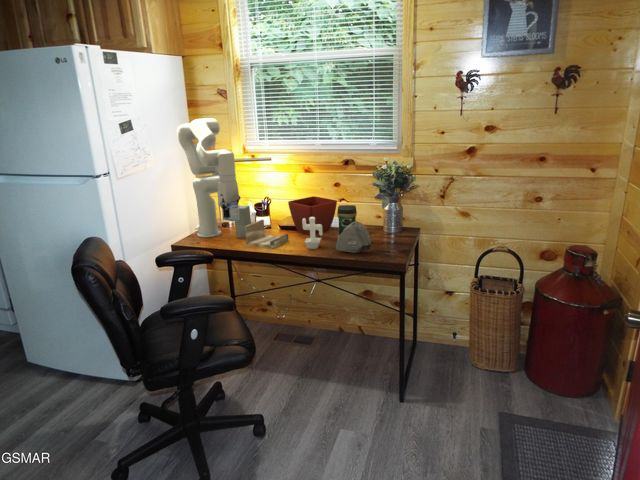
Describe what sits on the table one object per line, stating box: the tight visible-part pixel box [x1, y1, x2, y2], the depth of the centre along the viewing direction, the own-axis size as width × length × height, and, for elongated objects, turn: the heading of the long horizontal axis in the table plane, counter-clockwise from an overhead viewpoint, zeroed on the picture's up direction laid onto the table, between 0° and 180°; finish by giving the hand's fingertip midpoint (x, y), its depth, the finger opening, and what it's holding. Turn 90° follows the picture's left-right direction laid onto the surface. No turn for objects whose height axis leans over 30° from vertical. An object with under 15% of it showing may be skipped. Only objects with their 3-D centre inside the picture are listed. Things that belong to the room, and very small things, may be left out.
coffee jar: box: [336, 204, 358, 238], centre depth 230 cm, size 10×8×19 cm
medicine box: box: [221, 202, 240, 223], centre depth 223 cm, size 8×4×9 cm, turn 47°
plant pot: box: [287, 195, 338, 236], centre depth 249 cm, size 19×19×17 cm
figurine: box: [302, 217, 324, 250], centre depth 223 cm, size 7×9×15 cm
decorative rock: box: [335, 220, 372, 254], centre depth 214 cm, size 16×7×15 cm, turn 74°
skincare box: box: [234, 205, 252, 239], centre depth 246 cm, size 8×7×16 cm
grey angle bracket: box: [245, 219, 289, 249], centre depth 234 cm, size 16×14×10 cm
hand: (230, 215), depth 224 cm, fingers closed on medicine box, 5 cm apart
